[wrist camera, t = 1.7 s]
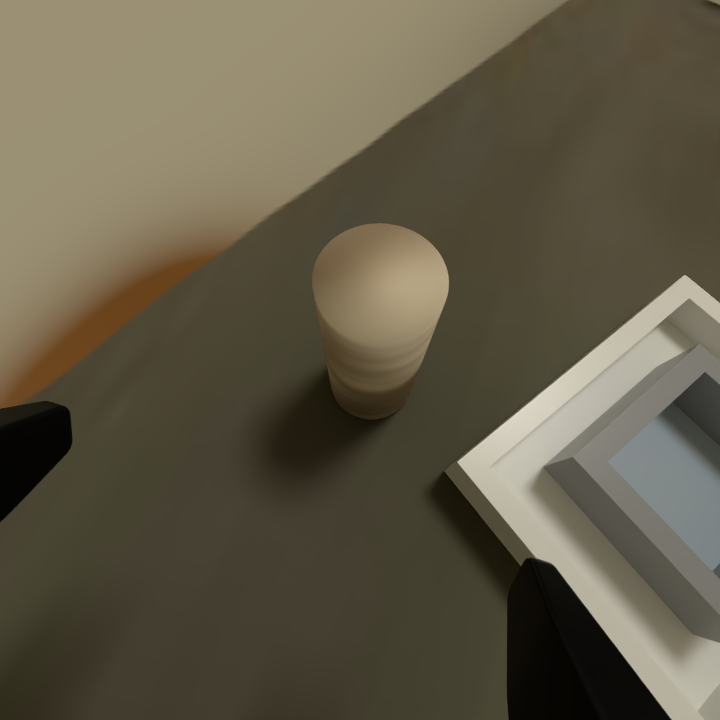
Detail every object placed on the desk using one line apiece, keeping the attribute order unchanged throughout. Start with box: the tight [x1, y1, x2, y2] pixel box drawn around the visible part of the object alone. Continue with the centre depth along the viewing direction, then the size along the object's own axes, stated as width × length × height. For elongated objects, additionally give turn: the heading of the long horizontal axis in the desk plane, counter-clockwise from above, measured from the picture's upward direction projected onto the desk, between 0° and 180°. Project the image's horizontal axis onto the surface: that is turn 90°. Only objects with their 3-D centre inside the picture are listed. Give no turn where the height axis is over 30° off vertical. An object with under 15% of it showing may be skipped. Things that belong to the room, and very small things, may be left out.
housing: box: [444, 275, 720, 720], centre depth 19 cm, size 14×16×4 cm
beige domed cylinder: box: [312, 224, 449, 420], centre depth 18 cm, size 4×4×10 cm
